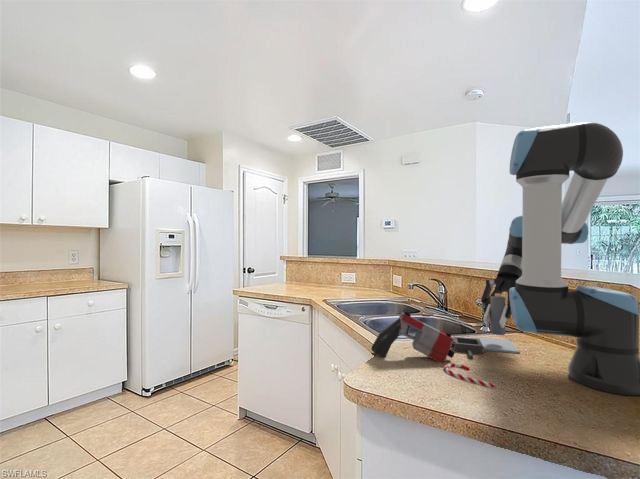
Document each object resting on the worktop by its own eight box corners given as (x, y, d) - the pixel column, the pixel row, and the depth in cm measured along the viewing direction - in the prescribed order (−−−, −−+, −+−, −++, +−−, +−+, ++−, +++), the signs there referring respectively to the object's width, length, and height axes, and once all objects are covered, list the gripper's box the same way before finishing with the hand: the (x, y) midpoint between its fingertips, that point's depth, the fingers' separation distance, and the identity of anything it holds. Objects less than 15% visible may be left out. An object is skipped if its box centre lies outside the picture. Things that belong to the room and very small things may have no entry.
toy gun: (438, 387, 95) (462, 342, 94) (371, 350, 99) (393, 306, 98) (436, 380, 100) (458, 336, 99) (371, 345, 104) (392, 303, 103)
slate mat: (519, 353, 103) (519, 351, 103) (484, 350, 106) (484, 348, 106) (510, 342, 114) (510, 340, 114) (478, 339, 117) (478, 337, 117)
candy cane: (486, 387, 77) (436, 365, 90) (486, 393, 77) (436, 370, 90) (506, 381, 80) (456, 361, 94) (506, 386, 80) (456, 365, 94)
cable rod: (506, 335, 108) (506, 295, 108) (491, 334, 109) (491, 294, 109) (503, 331, 112) (503, 293, 112) (489, 330, 113) (489, 292, 113)
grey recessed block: (486, 360, 96) (485, 352, 96) (456, 357, 99) (456, 349, 99) (479, 346, 110) (479, 338, 110) (453, 343, 112) (453, 336, 112)
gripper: (541, 279, 114) (526, 336, 103) (489, 275, 127) (470, 325, 116) (537, 264, 111) (520, 321, 100) (483, 262, 124) (463, 312, 113)
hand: (493, 323), depth 108 cm, fingers closed on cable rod, 4 cm apart
